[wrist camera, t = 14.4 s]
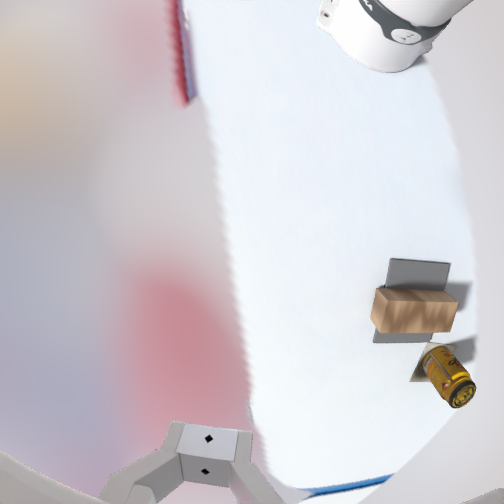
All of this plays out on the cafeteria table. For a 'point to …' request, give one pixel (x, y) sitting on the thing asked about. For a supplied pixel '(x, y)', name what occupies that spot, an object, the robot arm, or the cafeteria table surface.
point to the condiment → (445, 374)
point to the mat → (412, 278)
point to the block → (413, 311)
